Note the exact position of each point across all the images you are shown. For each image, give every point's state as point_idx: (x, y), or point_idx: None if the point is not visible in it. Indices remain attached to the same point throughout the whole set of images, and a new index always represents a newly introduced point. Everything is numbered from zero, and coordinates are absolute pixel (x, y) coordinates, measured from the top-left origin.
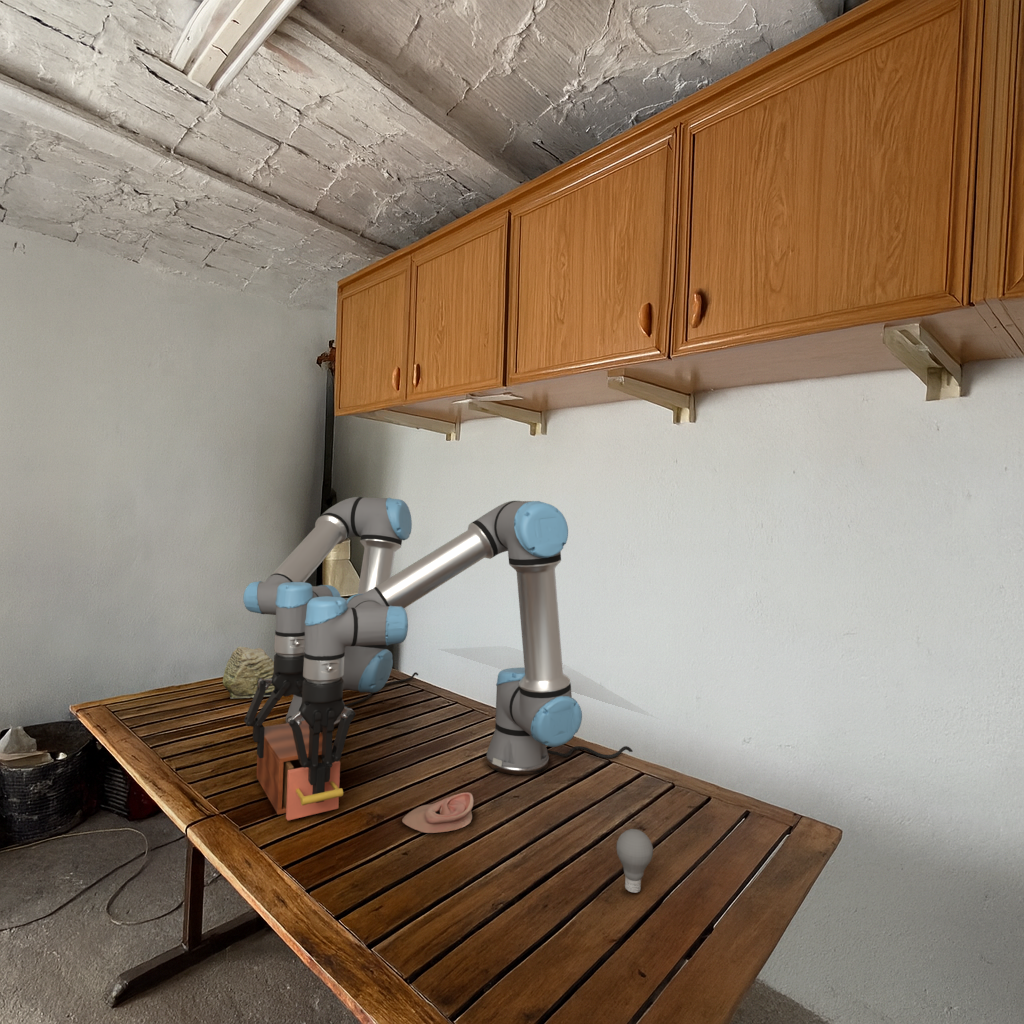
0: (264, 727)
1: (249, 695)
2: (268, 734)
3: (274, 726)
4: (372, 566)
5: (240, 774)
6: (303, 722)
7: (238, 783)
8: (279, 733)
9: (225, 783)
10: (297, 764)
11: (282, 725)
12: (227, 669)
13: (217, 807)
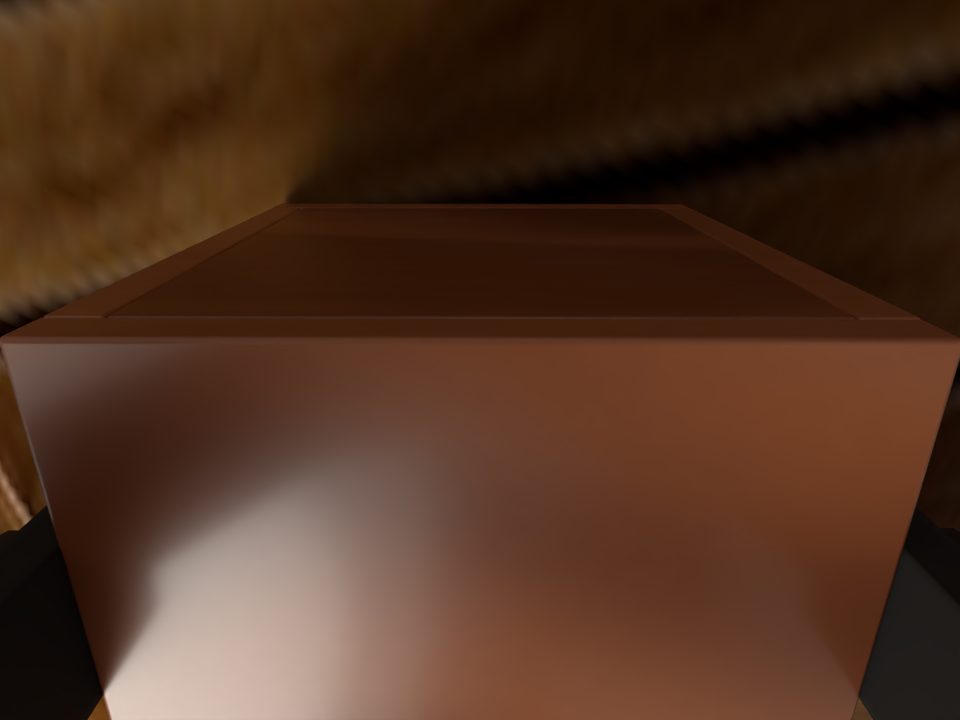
0: (107, 377)
1: None
2: (162, 669)
3: (286, 401)
4: None
5: (165, 67)
6: (808, 432)
7: (149, 238)
8: (318, 689)
9: (54, 191)
10: None
11: (428, 415)
12: None
13: (33, 508)
